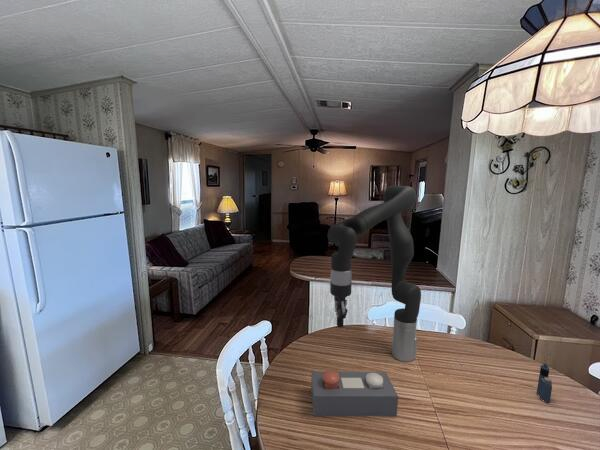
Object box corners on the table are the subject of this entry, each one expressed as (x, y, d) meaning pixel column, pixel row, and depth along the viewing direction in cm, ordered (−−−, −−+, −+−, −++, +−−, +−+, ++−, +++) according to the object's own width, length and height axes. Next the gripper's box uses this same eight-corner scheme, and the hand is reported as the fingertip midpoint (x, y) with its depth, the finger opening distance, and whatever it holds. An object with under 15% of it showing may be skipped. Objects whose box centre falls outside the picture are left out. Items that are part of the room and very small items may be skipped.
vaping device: (543, 393, 102) (548, 363, 100) (551, 404, 97) (555, 372, 95) (535, 392, 103) (539, 361, 101) (542, 402, 98) (546, 370, 96)
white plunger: (378, 392, 99) (380, 372, 98) (383, 404, 93) (385, 383, 92) (363, 392, 98) (364, 372, 97) (367, 404, 93) (368, 383, 92)
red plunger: (336, 389, 98) (337, 370, 97) (339, 402, 92) (340, 381, 91) (320, 389, 98) (321, 370, 97) (322, 402, 92) (323, 381, 91)
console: (384, 389, 102) (385, 371, 101) (396, 416, 90) (398, 395, 89) (311, 389, 101) (311, 371, 100) (313, 416, 89) (314, 395, 88)
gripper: (355, 287, 93) (354, 335, 96) (347, 274, 106) (346, 317, 109) (333, 288, 93) (332, 336, 95) (327, 275, 106) (327, 318, 108)
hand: (340, 326), depth 102 cm, fingers closed
